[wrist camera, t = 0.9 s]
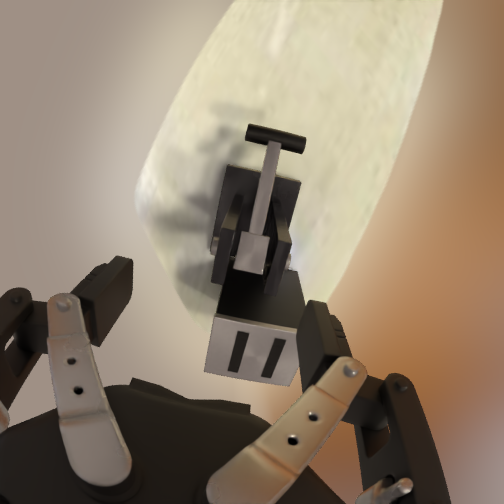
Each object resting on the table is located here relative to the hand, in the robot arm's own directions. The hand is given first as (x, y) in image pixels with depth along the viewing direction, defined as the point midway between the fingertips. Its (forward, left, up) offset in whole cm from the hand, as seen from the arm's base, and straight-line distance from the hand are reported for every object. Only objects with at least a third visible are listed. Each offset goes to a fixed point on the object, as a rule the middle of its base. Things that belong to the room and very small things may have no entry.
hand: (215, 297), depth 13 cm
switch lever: (-2, +2, -13) cm, 13 cm away
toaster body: (+11, +4, -21) cm, 24 cm away
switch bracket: (+2, +2, -21) cm, 21 cm away
